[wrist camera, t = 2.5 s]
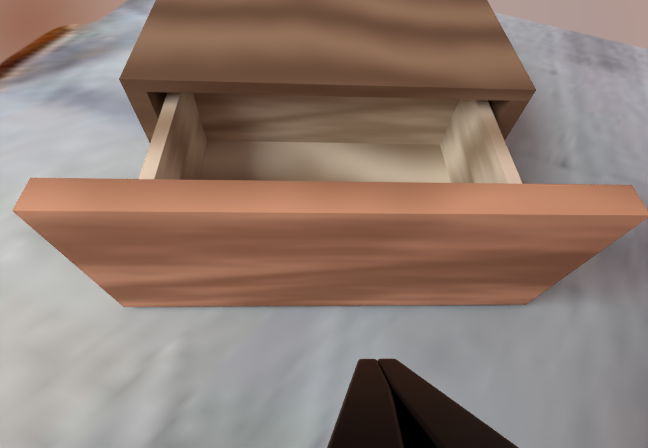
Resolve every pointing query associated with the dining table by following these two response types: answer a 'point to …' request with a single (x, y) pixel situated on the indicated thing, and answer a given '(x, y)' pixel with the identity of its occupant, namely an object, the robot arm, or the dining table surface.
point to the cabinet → (326, 53)
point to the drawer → (326, 208)
